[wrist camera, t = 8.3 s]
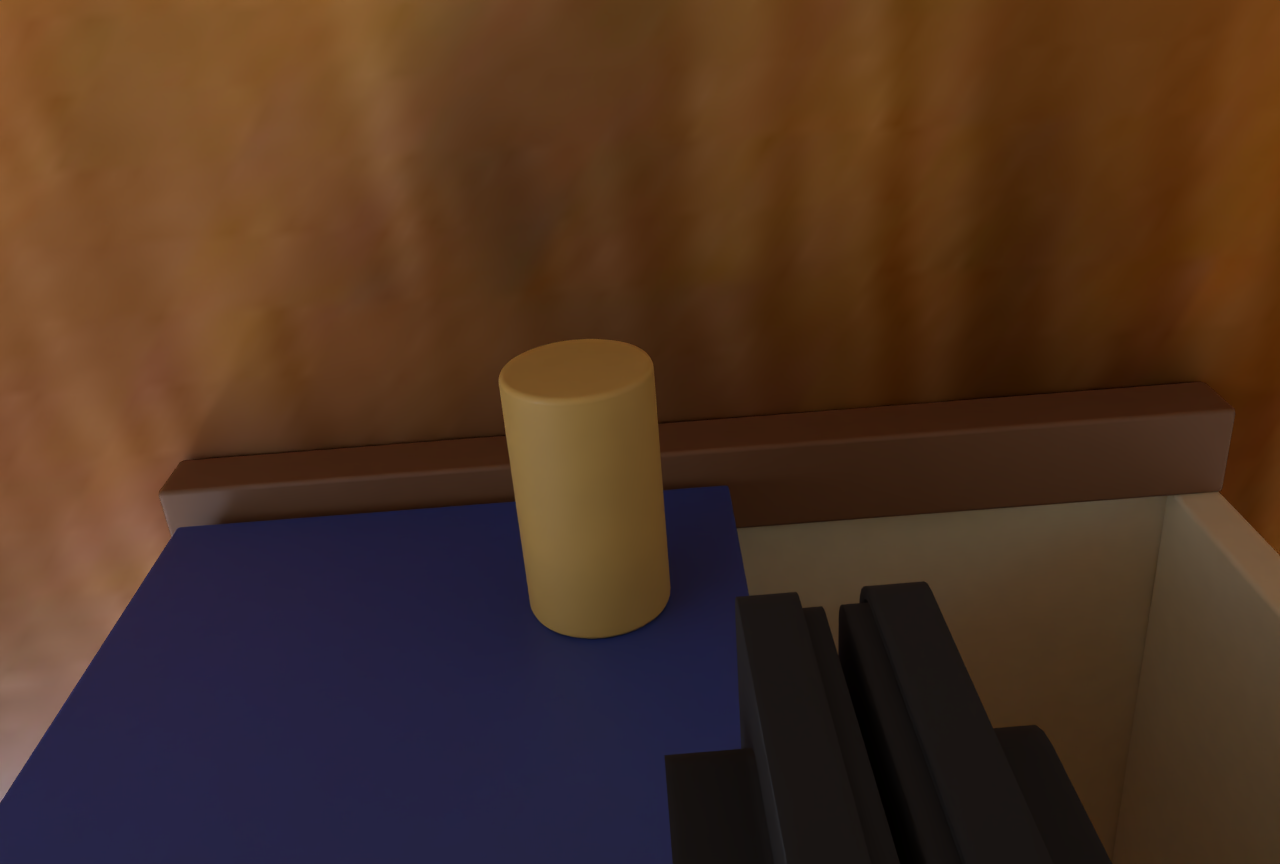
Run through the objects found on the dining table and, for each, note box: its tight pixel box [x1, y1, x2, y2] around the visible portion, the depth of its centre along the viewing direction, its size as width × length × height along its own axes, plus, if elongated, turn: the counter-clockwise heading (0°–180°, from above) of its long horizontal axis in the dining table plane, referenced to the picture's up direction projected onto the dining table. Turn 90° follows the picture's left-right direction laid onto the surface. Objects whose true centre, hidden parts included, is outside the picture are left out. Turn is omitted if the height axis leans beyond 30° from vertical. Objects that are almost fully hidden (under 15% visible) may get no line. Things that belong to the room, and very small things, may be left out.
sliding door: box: [0, 339, 749, 864], centre depth 14 cm, size 4×9×9 cm, turn 94°
